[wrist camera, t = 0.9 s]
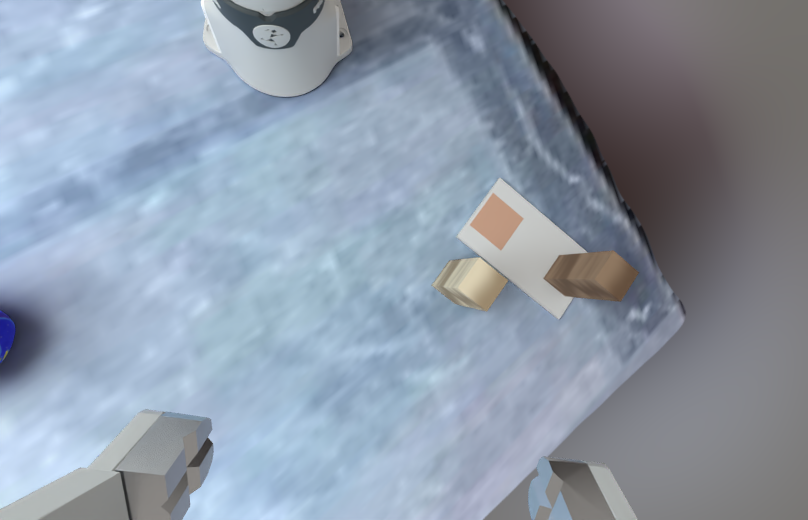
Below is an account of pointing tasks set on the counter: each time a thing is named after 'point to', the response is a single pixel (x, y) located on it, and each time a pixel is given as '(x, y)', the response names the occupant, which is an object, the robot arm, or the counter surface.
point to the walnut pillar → (592, 275)
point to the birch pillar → (470, 283)
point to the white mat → (519, 244)
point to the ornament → (6, 335)
